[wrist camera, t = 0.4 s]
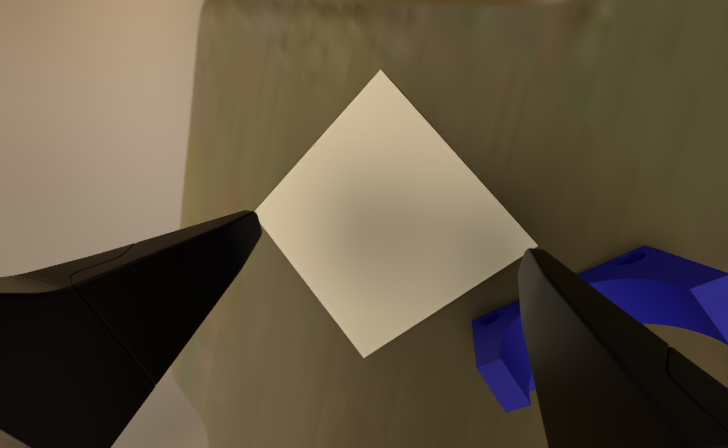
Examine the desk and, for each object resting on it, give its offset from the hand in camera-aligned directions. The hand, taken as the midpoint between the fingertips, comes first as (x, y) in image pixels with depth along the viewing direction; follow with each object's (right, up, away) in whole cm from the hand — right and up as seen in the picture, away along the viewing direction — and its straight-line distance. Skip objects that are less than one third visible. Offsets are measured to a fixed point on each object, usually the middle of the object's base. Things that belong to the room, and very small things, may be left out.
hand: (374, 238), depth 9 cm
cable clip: (+14, -6, +11) cm, 19 cm away
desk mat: (0, 0, +14) cm, 14 cm away
